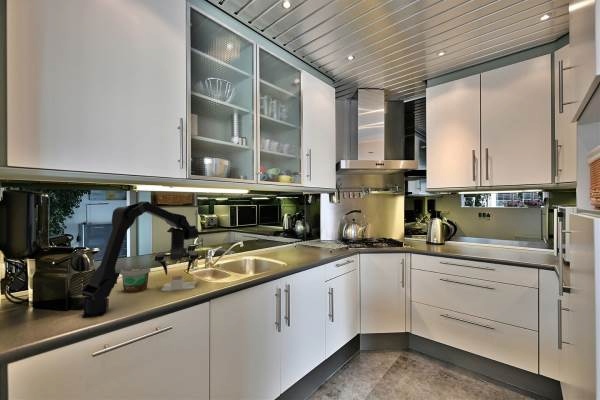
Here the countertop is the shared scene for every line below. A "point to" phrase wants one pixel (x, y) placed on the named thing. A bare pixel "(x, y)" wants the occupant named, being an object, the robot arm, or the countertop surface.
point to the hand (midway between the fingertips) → (177, 274)
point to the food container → (135, 280)
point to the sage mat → (185, 286)
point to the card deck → (176, 282)
